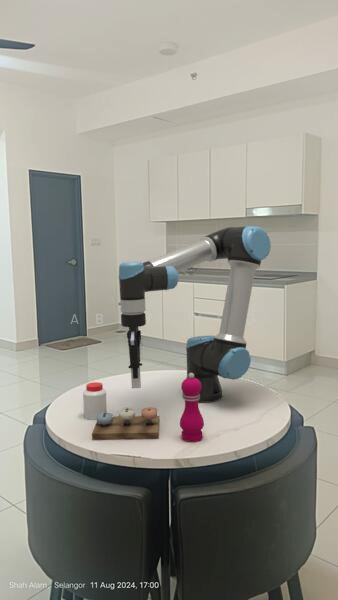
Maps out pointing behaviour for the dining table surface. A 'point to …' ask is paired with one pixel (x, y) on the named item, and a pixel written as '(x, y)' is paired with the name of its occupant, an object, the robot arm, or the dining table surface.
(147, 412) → the button
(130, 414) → the button
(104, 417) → the button
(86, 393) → the pill bottle
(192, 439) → the pepper mill
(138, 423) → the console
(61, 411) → the dining table surface
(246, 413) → the dining table surface
